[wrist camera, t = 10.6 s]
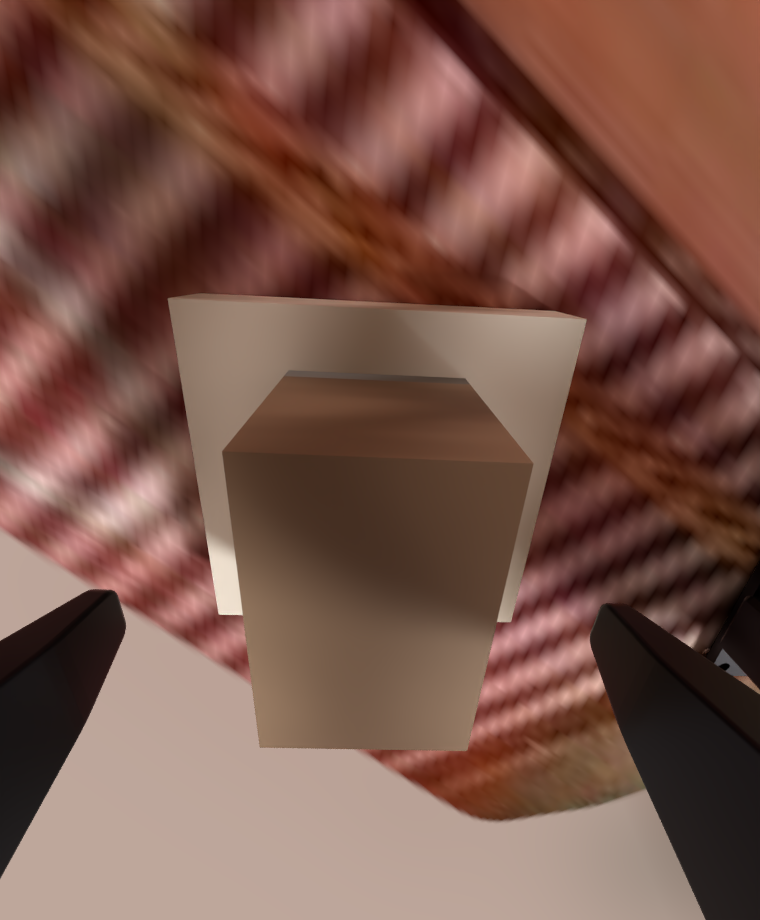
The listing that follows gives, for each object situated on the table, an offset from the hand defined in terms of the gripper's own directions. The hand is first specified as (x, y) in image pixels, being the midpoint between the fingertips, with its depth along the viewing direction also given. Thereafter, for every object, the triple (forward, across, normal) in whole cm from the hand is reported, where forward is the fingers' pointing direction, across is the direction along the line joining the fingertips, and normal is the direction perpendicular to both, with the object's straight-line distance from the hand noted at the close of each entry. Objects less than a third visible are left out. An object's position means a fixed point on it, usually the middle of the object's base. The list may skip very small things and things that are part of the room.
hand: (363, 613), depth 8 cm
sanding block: (+5, 0, 0) cm, 5 cm away
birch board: (+7, 0, 0) cm, 7 cm away
